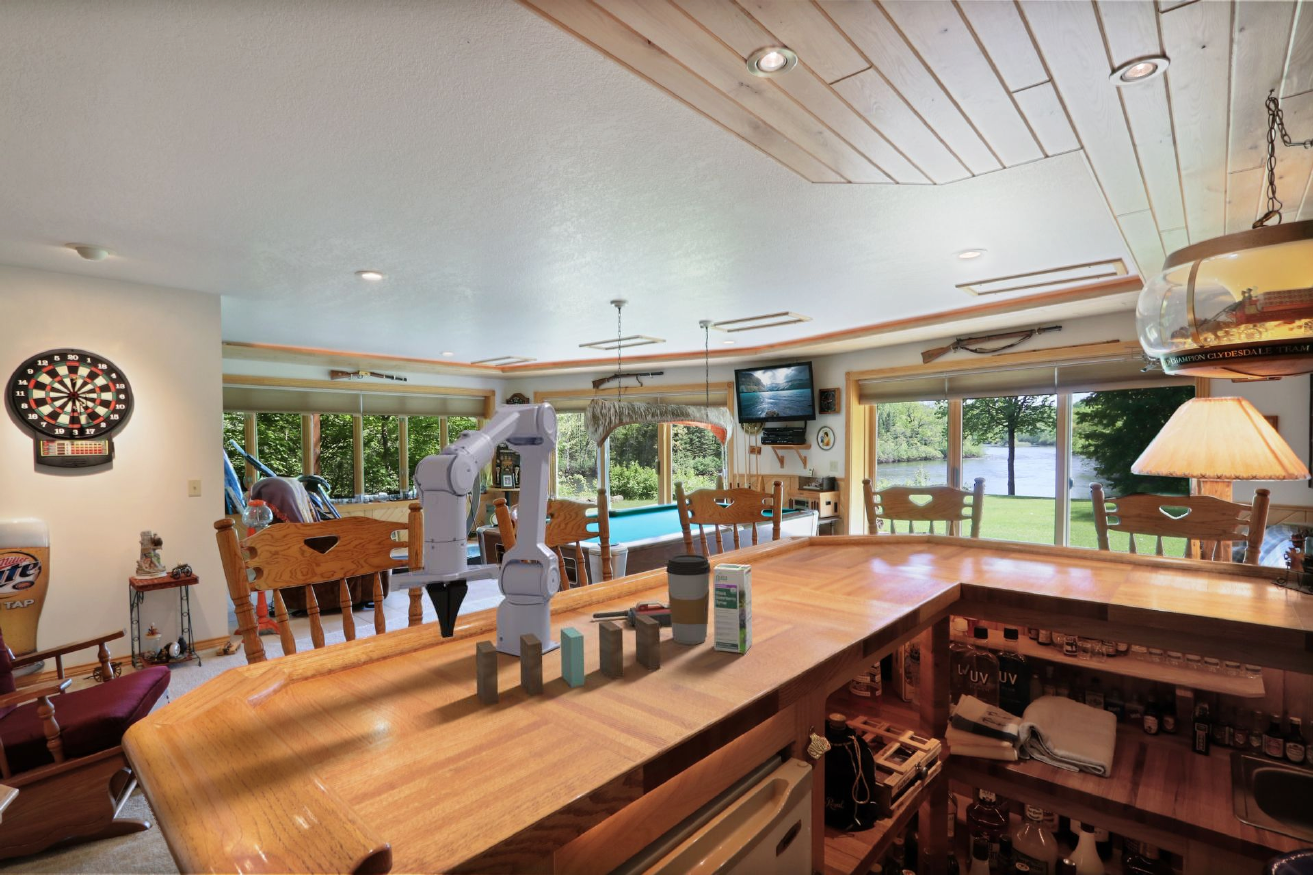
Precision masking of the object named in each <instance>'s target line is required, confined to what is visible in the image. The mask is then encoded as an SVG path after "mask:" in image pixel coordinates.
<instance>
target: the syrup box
mask: <svg viewBox="0 0 1313 875" xmlns="http://www.w3.org/2000/svg"><path fill="white" fill-rule="evenodd" d="M712 584H713V585H712V586H713V587H712V588H713V593H712V594H713V623H714V624H713V626H714V628H713V630H714V634H713V636H714V637H713V640H714V641H713V642H714V643H713V646H714V648H713V649H714V651H716V652H721V651H722V652H728V653H729V652H730V653H736V654H742V655H743V654H744V655H745V654H746V653H747V652H748V651H749V649H750V648H751V646H752V644H753V610H752V609H753V606H752V604H753V602H752V565H751V564H733V563H719V564H716V565H715V567H714V568H713V569H712Z"/></svg>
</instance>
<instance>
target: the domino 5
mask: <svg viewBox="0 0 1313 875" xmlns="http://www.w3.org/2000/svg"><path fill="white" fill-rule="evenodd" d="M634 629H635V662H636V663H637V664H639V665H640V666H641V667H643V668H645V669H646V670H647V671H648V672H652V671H656V670H661V642H660V641H661V637H660V635H661V633H660V626H659V622H658V621H656V620H654V619H652V618H651V617H649V616H647V615H642V616H636V617H635V627H634Z"/></svg>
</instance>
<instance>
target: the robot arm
mask: <svg viewBox="0 0 1313 875" xmlns="http://www.w3.org/2000/svg"><path fill="white" fill-rule="evenodd" d="M558 427H559V419H558V416H557V414H556V411H555V409H554V406H552V404H551V403H549V402H545V401H544V402H542V403H523V404H522V403H521V404H520V403H519V404H507V403H503V404H500V405H499V406H498V407H497V408H495V409H494V410H493V416H492V418H491V419H490V420H489V421H488V422H486V424H485V425H484V426H483V427H481V429H480V430H473V429H472V430H471V429H468V430H467V429H465V430H463V431H461V432H460V434H459V435H460V437H458V438H457V439H456V440H454V441H453V442H452V443H451V444H447V445H445V446H444V447H443V448H442V450H441V451H440V452H439V453H438V454H429V455H426V456H425V457H423V459H421V460H420V461H419V462H418V463H417V465H416V468H415V470H414V474H413V476H412V480H413V484H414V488H415V490H416V491H417V493H418V497H419V498H418V502H419V504H420V507H421V508H423V510H422V511H423V551H424V552H423V553H424V554H423V555H424V556H423V561H424V562H423V564H424V567H423V568H424V569H419V570H414V571H408V572H403V573H396V574H390V575H389V591H390V592H391V593H393V592H399V591H400V590H407V589H417V588H423V587H424V589H425V591H426V592H427V594H428V596H429V598H430V601H431V603H432V605H433V608H434V610H435V614H436V617H437V620H438V624H439V628H440V635H441V637H442V639H446V638H447V639H448V638H452V637H454V630H455V625H456V621H457V617H458V614H459V611H460V608H461V606H462V604H463V603H464V602H463V601H464V599H465V598H466V595H467V593H468V590H469V585H468V584H467V583H469V582H476V581H485V580H493V581H495V580H497V586H498V589H499V592H500V594H501V595H502V596H504V599H502V600H501V601H500V603H499V605H498V608H497V610H496V617H495V618H496V620H495V621H496V645H494V647H495V648H496V649H497V652H501V653H505V654H510V655H512V656H513V655H514V656H516V657H517V656H518V657H520V635H526V634H532V633H533V634H534V635H535V636H536V637H537V638H538V639H539V640H540V641H541V642H542V655H543V654H546V653H548V652H549V651H552V650H555V649H557V648H559V647H561V642H558V641H553V640H552V639H551V638H552V635H551V633H552V632H551V631H552V630H551V599H553V598H554V597H555V596H556V595H557V593H558V591H559V588H560V582H561V574H560V573H561V572H560V568H559V556H558V555H557V554H556V553H555V552H554V551H553V550H552V549H550V548H549V547H548V546H547V545H546V544H545V542H546V529H547V528H546V527H547V512H548V510H547V509H548V495H549V494H548V492H549V481H550V480H549V478H550V477H549V476H550V465H551V464H550V461H551V453H552V452H554V451H555V450H556V449H557V441H558V440H557V439H558V430H559V429H558ZM502 443H505V444H506V445H507V446H508V447H509V448H510V449H511V451H514V452H516V453H518V454H519V455H520V457H521V466H520V467H521V469H520V480H519V482H520V483H519V496H518V508H517V509H518V512H517V522H516V523H517V524H516V525H517V526H516V536H515V537H516V538H515V539H516V540H515V545H513V546H512V547H511V548H510V549H508V550H507V551H506V552H505V553H504V554H503V556H502V561H501V567H500V566H499V565H498V563H490V564H469V565H468V557H467V556H468V552H467V551H468V550H467V549H468V548H467V545H468V542H467V494H468V493H470V492H471V491H472V489H473V486H474V483H475V479H476V478H477V477H478V474H479V472H480V471H481V470H482V469H483V468H484V467H486V465H487V464H489V463H491V461H492V460H493V458H494V456H495V448H497V447H498V446H499V445H500V444H502ZM522 560H524V561H525V560H526V561H527V560H529V561H538V562H529V561H528V562H526V561H525V562H524V561H522Z"/></svg>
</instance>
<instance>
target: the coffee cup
mask: <svg viewBox="0 0 1313 875" xmlns="http://www.w3.org/2000/svg"><path fill="white" fill-rule="evenodd" d="M665 571H666V574H667V583H668V589H667V591H668V601H669V603H668V604H670V616H671V623H672V625H671V633H672V637H673V640H674V641H675V642H676V643H678V644H682V645H698V644H701V643H703V642H705V641H706V638H707V637H708V624H709V610H710V609H709V607H710V605H709V603H710V574H711V571H712V570H711V563H710V562H709V558H708V557H707V556H705V555H700V554H699V555H698V554H679V555H673V556H670V557H669V558H668V562H667V564H666V570H665Z"/></svg>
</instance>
